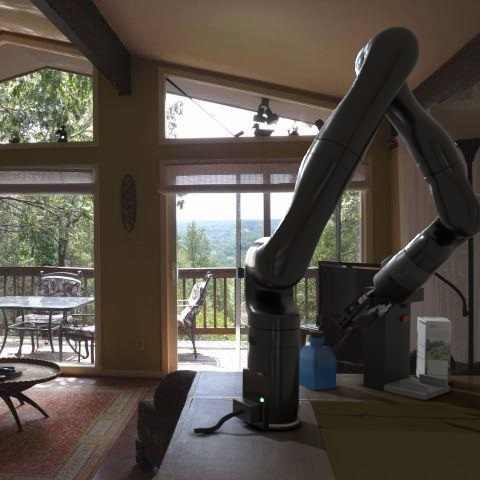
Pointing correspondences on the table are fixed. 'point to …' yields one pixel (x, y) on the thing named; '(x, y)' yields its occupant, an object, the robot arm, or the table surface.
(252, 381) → the robot arm
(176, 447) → the table surface
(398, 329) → the coffee maker
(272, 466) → the table surface
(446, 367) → the syrup box
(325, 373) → the perfume bottle
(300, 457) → the table surface
